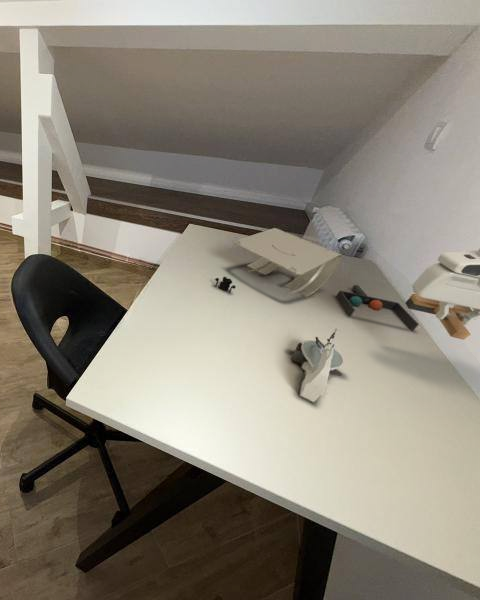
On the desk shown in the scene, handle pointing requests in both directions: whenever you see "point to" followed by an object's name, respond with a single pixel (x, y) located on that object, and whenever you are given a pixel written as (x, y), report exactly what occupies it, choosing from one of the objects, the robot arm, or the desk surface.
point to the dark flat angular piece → (394, 306)
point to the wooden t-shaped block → (433, 307)
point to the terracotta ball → (375, 304)
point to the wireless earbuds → (225, 284)
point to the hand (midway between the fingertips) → (450, 320)
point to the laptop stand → (292, 258)
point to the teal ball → (355, 300)
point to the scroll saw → (316, 366)
